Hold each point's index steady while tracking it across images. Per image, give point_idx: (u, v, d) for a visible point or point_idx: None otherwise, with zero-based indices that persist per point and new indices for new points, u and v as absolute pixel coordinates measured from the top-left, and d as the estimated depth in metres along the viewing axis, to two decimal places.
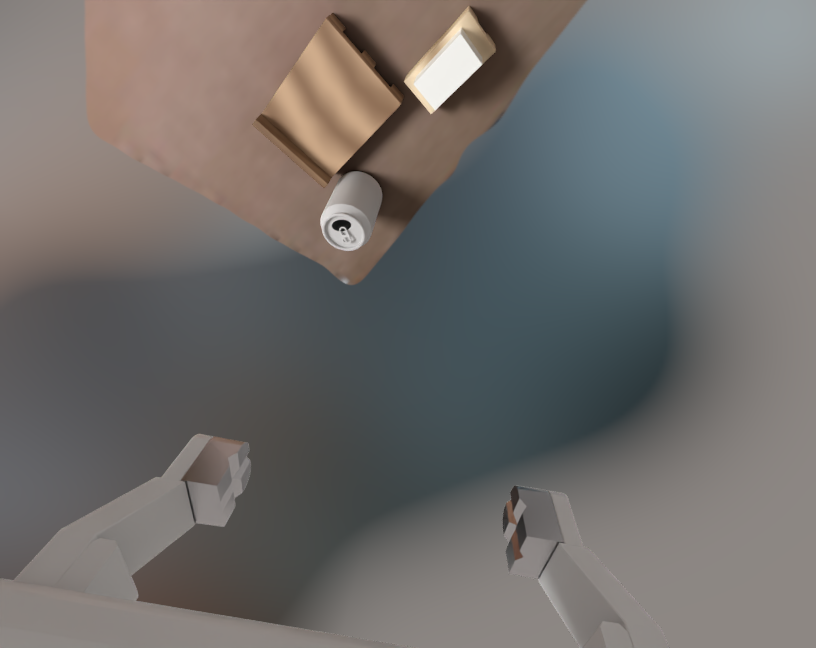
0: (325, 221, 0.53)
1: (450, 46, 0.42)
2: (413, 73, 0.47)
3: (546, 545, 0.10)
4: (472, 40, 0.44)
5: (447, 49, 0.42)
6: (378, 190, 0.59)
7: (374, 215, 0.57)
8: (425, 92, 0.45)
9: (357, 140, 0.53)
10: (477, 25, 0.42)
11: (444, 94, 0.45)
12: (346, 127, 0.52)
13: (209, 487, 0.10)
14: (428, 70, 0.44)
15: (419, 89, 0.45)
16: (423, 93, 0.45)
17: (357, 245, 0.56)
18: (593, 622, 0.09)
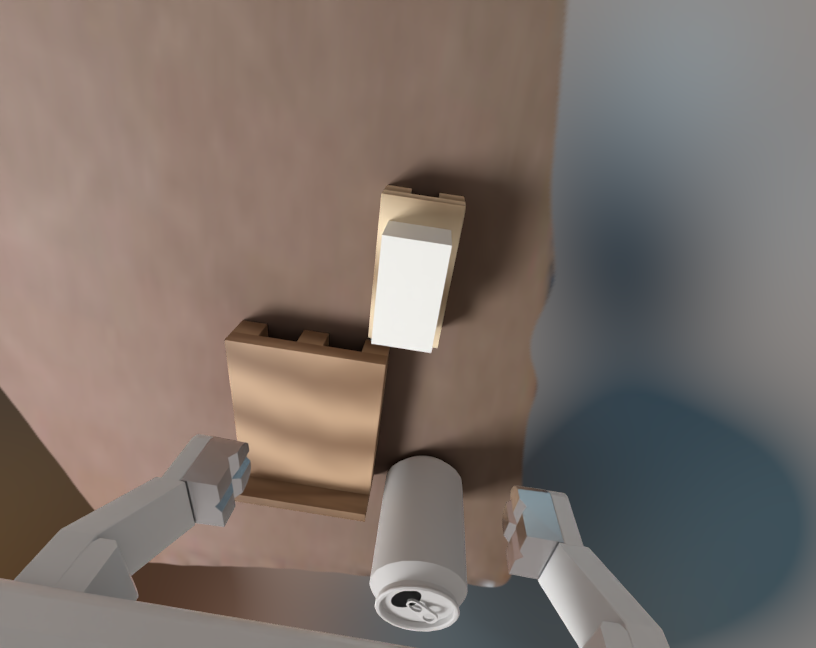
0: (377, 607, 0.28)
1: (381, 261, 0.21)
2: (372, 319, 0.27)
3: (546, 545, 0.10)
4: (418, 222, 0.23)
5: (380, 268, 0.22)
6: (443, 473, 0.35)
7: (453, 535, 0.30)
8: (396, 341, 0.24)
9: (365, 438, 0.32)
10: (409, 199, 0.23)
11: (428, 324, 0.23)
12: (340, 432, 0.32)
13: (209, 487, 0.10)
14: (377, 312, 0.23)
15: (385, 343, 0.24)
16: (395, 344, 0.24)
17: (452, 615, 0.28)
18: (593, 622, 0.09)
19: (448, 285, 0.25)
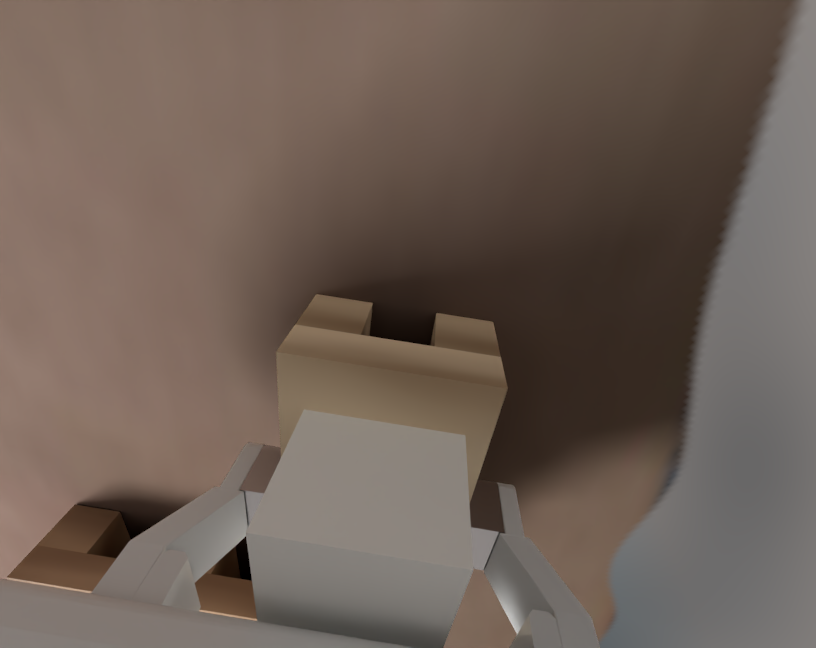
0: None
1: (259, 581, 0.07)
2: None
3: (488, 536, 0.10)
4: (380, 415, 0.09)
5: (259, 592, 0.07)
6: None
7: None
8: None
9: None
10: (353, 367, 0.08)
11: None
12: None
13: None
14: None
15: None
16: None
17: None
18: (529, 612, 0.09)
19: None
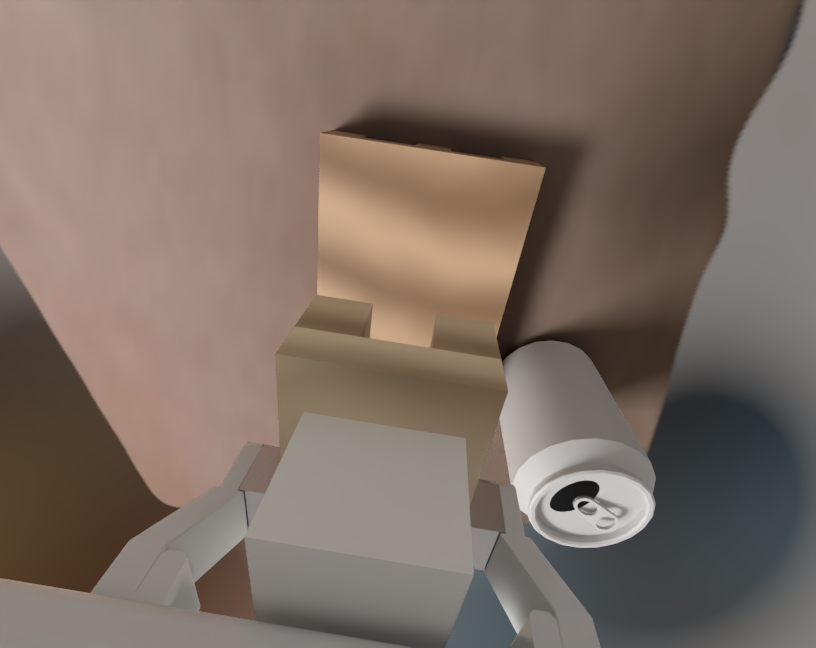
0: (532, 509, 0.20)
1: (258, 585, 0.07)
2: None
3: (488, 536, 0.10)
4: (380, 418, 0.09)
5: (258, 597, 0.07)
6: (583, 357, 0.27)
7: (623, 419, 0.22)
8: None
9: (493, 297, 0.24)
10: (352, 369, 0.08)
11: None
12: (460, 289, 0.24)
13: None
14: None
15: None
16: None
17: (639, 520, 0.20)
18: (530, 611, 0.09)
19: None
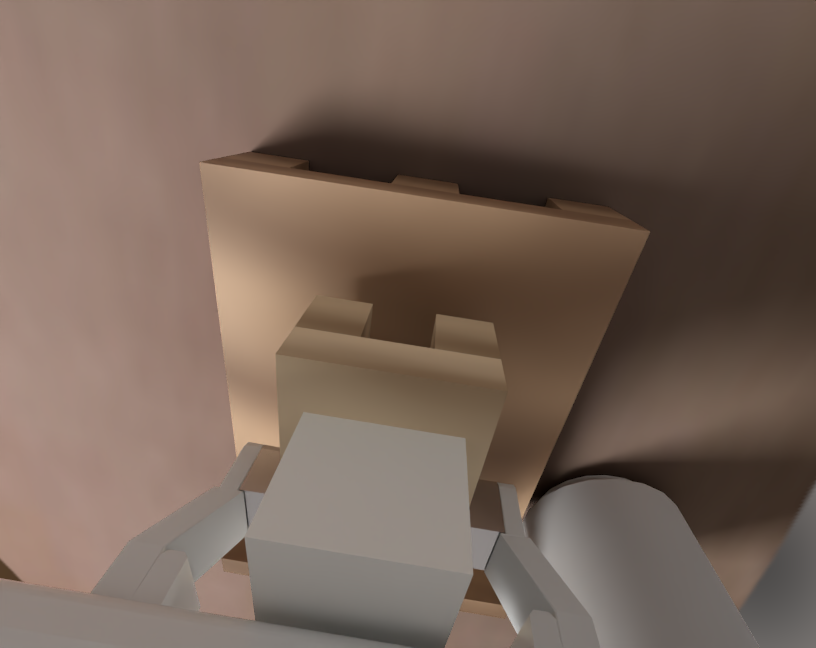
0: None
1: (258, 585, 0.07)
2: None
3: (488, 535, 0.10)
4: (379, 418, 0.09)
5: (258, 597, 0.07)
6: (670, 515, 0.16)
7: None
8: None
9: (532, 439, 0.14)
10: (352, 369, 0.08)
11: None
12: None
13: None
14: None
15: None
16: None
17: None
18: (530, 611, 0.09)
19: None
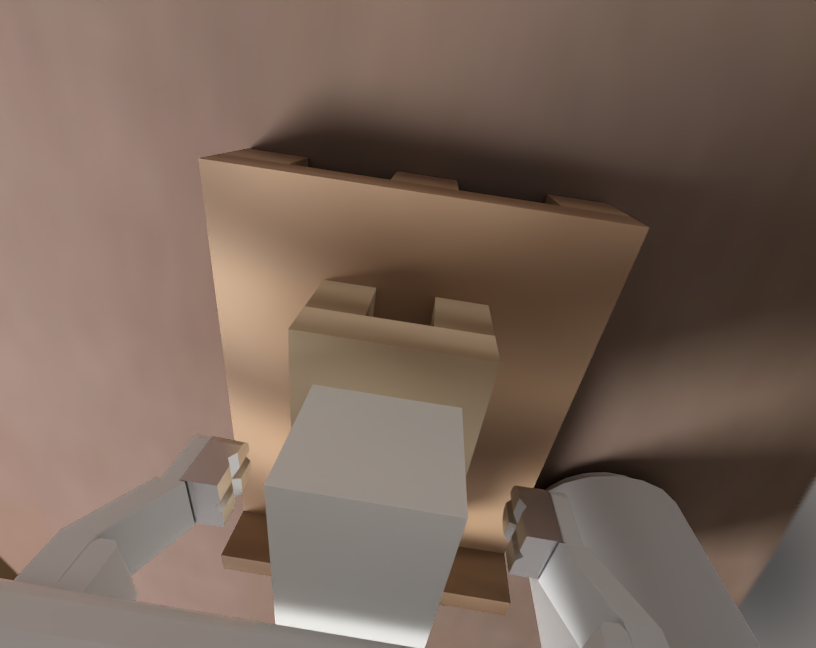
0: None
1: (274, 534, 0.08)
2: None
3: (546, 545, 0.10)
4: (383, 389, 0.10)
5: (274, 545, 0.08)
6: (670, 512, 0.16)
7: None
8: None
9: (531, 435, 0.14)
10: (358, 343, 0.09)
11: (407, 639, 0.10)
12: None
13: (208, 487, 0.10)
14: (281, 614, 0.09)
15: None
16: None
17: None
18: (593, 622, 0.09)
19: None
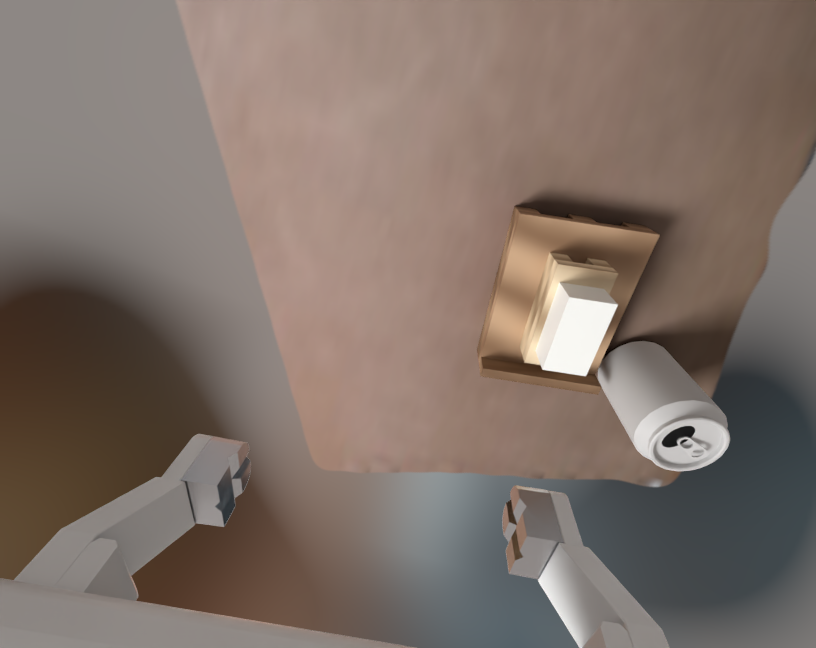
0: (652, 444, 0.33)
1: (564, 314, 0.31)
2: (530, 350, 0.36)
3: (546, 545, 0.10)
4: (581, 283, 0.32)
5: (562, 318, 0.31)
6: (666, 352, 0.39)
7: None
8: (562, 368, 0.33)
9: (614, 313, 0.37)
10: (577, 268, 0.32)
11: (588, 356, 0.32)
12: None
13: (208, 487, 0.10)
14: (552, 348, 0.32)
15: (552, 369, 0.33)
16: (560, 370, 0.33)
17: (718, 451, 0.33)
18: (593, 622, 0.09)
19: None
